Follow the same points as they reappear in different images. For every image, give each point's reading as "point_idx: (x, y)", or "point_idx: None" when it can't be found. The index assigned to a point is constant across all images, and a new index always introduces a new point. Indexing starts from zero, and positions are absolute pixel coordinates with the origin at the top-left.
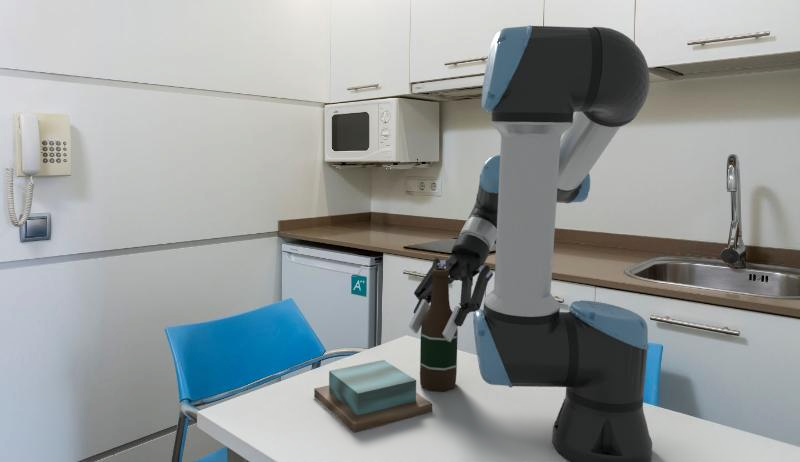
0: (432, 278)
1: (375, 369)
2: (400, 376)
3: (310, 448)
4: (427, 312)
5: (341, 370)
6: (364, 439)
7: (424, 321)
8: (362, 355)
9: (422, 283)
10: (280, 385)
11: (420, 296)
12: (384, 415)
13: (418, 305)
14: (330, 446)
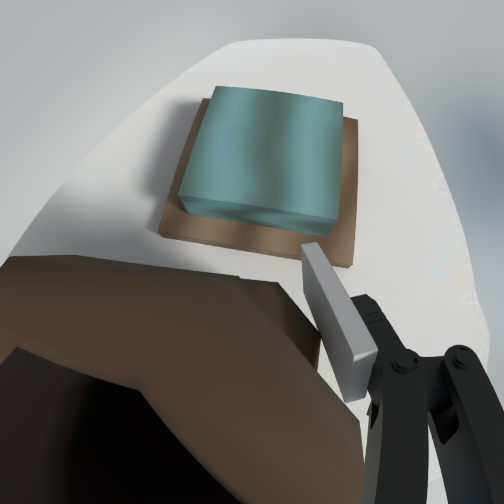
0: None
1: (294, 164)
2: (219, 180)
3: (214, 64)
4: (264, 300)
5: (332, 116)
6: (180, 108)
7: (263, 284)
8: (474, 314)
9: (492, 425)
10: (414, 121)
11: (413, 358)
12: (189, 139)
13: (379, 329)
14: (200, 77)
